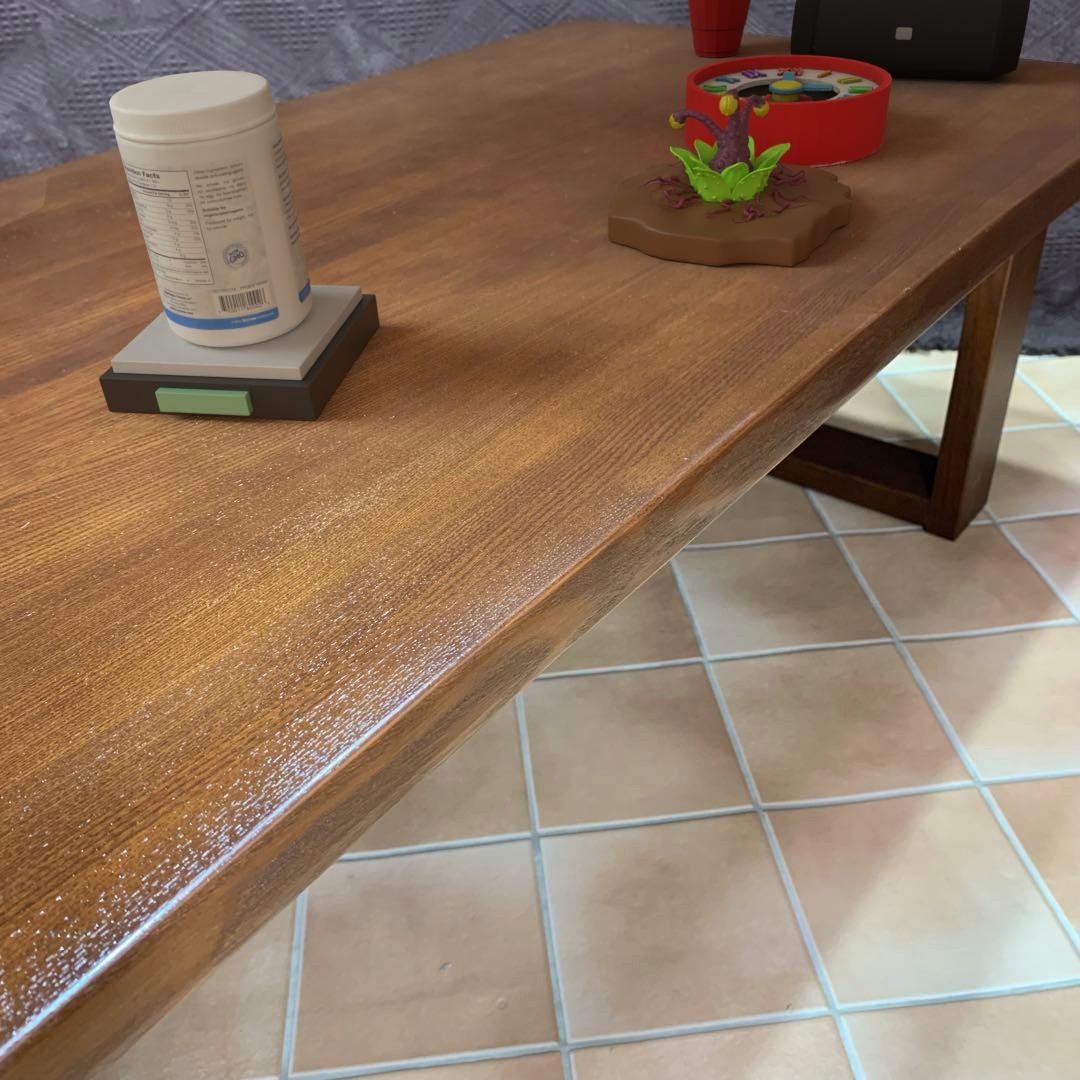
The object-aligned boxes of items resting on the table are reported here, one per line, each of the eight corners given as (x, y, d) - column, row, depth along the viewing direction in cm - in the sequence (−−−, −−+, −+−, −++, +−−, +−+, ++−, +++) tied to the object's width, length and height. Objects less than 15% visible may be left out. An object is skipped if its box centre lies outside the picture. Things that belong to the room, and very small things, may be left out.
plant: (575, 253, 88) (571, 109, 81) (646, 178, 102) (647, 51, 95) (824, 278, 81) (842, 124, 74) (862, 195, 96) (880, 60, 89)
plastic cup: (738, 65, 137) (744, -41, 130) (662, 58, 142) (664, -45, 135) (772, 47, 144) (780, -54, 137) (699, 41, 149) (703, -57, 142)
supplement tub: (234, 283, 77) (185, 64, 68) (343, 303, 73) (306, 73, 65) (137, 339, 70) (69, 103, 61) (252, 363, 66) (197, 116, 58)
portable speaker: (785, 81, 129) (793, -12, 123) (798, 62, 137) (806, -26, 131) (1013, 89, 122) (1033, -9, 116) (1014, 68, 129) (1032, -25, 123)
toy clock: (674, 103, 101) (697, 54, 117) (672, 165, 105) (695, 110, 120) (895, 105, 97) (889, 54, 113) (886, 170, 101) (881, 112, 116)
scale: (104, 416, 69) (89, 369, 67) (200, 319, 80) (189, 277, 78) (312, 426, 66) (303, 378, 65) (380, 325, 78) (373, 281, 76)
